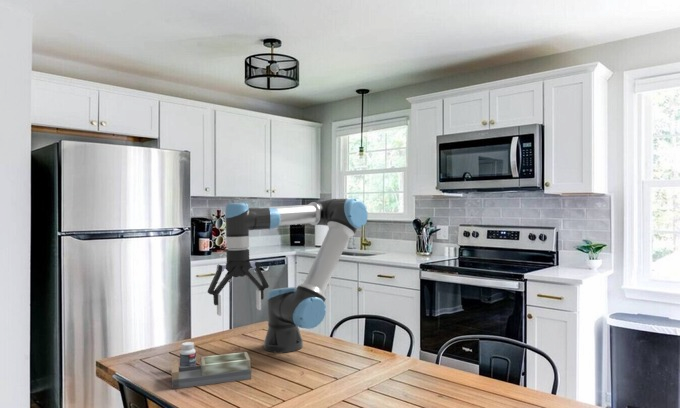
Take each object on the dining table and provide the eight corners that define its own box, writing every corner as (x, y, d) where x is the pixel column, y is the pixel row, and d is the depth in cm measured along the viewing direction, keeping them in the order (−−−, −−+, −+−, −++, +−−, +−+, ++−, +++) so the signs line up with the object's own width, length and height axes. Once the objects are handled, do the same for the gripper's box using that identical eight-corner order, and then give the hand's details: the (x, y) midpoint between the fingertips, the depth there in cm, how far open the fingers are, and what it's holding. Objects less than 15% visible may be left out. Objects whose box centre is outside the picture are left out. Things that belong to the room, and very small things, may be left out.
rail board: (246, 367, 161) (246, 353, 161) (251, 378, 151) (250, 363, 151) (172, 376, 154) (172, 361, 154) (171, 389, 143) (171, 372, 143)
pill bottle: (191, 372, 157) (190, 346, 157) (176, 371, 158) (176, 345, 158) (198, 367, 162) (198, 341, 162) (185, 366, 164) (184, 340, 164)
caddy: (246, 363, 160) (246, 351, 160) (250, 372, 152) (250, 359, 152) (201, 369, 156) (200, 357, 156) (202, 378, 147) (202, 365, 147)
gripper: (269, 245, 167) (271, 305, 167) (197, 250, 155) (199, 314, 155) (276, 247, 160) (278, 309, 160) (202, 252, 148) (203, 319, 148)
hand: (239, 312), depth 158 cm, fingers open, 13 cm apart
